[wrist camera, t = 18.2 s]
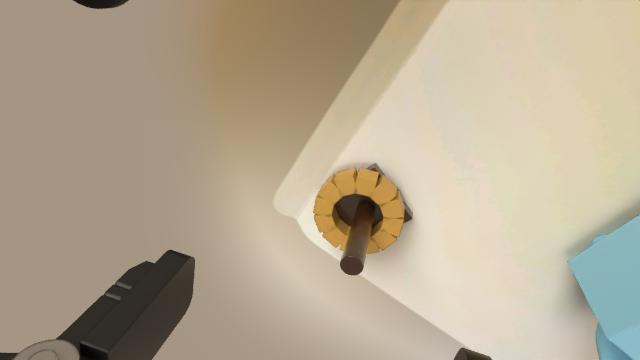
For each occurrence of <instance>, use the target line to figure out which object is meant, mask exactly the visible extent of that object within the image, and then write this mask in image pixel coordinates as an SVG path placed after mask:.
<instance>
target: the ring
mask: <svg viewBox="0 0 640 360" xmlns="http://www.w3.org/2000/svg"><path fill="white" fill-rule="evenodd" d="M378 175H379V172H375V171H371V170H367V169H363V168H360V169H359V172H358V173H357V170H356V168H352V169H348V170H344V171H340V172H338V173H337V175H335V174H333V175H332V176H331V177H330V178H329V179H328V180H327V181H326V182H325V183H324V184H323V185H322V187H321V189H320V191H319V193H318V195H317V197H316V200H315V205H314V211H313V213H314V214H315V215H314V220H315V222H316V225H317V227H318V230H319V232H320V233H321V232H324V233H323V235H322V236H323V237H324V238H325V239H326V240H327V241H329V242H330V243H331V244H332V245H333V246H334V247H337V246H338V245H339V244H341V245H340V250H343V251H344V248H345V245H346V242H347V238H348V235H349V232H350V228H351V226H348V225H347V224H346V223H345V222H344V221H342V220H341V219H340V218H339V216H338V213H337V210H336V208H335V206H336V202H337V201H338V200H340V199H341V198H342V197H343V196H346V195H351V194H355V193H357V194H360V195H364V196H368V197H370V198H371V199H372V200H374V201H375V202H376V203H377V204H378V205H379V206H380V208H381V211H382V214H383V219H382V220H381V221H380V222H379V223H378V224H376V225H375V226H374V227H372V230H371V234H370V239H369V244H368V248H367V253H366V254H370V253H376V252H379V250H380V248H381V249H382V250H384V249H386V248H387V247H388V246H389V245H391V244H392V243H393V242H394V241H396V240H397V236H399V235H400V232H401V228H402V225H403V222H404V213H405V212H404V209H405V206H404V203H403V200H402V197H401V194H400V191H397V187H396V186H395V185H394V184H393V183H392V182H391V181H390V180H389V179H388V178H386V177H385V176H384V175H382V176H381V177H380V178H379V179H378ZM377 179H378V180H377Z"/></svg>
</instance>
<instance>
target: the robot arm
mask: <svg viewBox="0 0 640 360" xmlns="http://www.w3.org/2000/svg"><path fill="white" fill-rule="evenodd" d="M194 269H195V259H194V258H193V257H191V256H188V255H185V254H182V253H179V252H176V251H173V250H168V251H167V252H166V253H165V254H164V255H163V256H162V257H161V258H160V259H159V260H158V261H157V262H156V263H155V264H154V263H151V262H148V261H145V262H143V263H141V264H139V265H137V266H135V267H133V268H131V269H129V270H128V271H127V272H126V273H125V274H124V275H123V276H122V277H121V278H120V279H118V280H117V282H116V283H115V285H112V286H111V287H110V288H109V289H108V290H107V291H106V292H105V294H104V295H102V296H101V297H100V298H99V299H98V300H97V301H96V302H95V303H94V304H93V305H91V307H89V308H88V309H87V310H86V311H85V312H84V313H83V314H82V315H81V316H80V317H79V318H78V319H77V320H76V321H75V322H74V323H73V324H72V325H71V326H70V327H69V328H68V329H67V330H65V332H63V333H62V334H61V335H60V336H59V337H58V338H56V339H55V340H46V341H42V342H38V343H36V344H33V345H31V346H29V347H27V348H25V349H24V350H22V351H21V352H20V353H0V360H152V359H153V357H154V356H155V355H156V353H157V352H158V350H159V349H160V348H161V346H162V345H163V343H164V342H165V341H166V339H167V338H168V337H169V335H170V334H171V333H172V331H173V330H174V328H175V327H176V326H177V324H178V323H179V322H180V320H181V319H182V317H183V316H184V315H185V313H186V311H187V309H188V307H189V305H190V302H191V299H192V294H193V281H194ZM454 360H492V359H491V358H490V357H489V356H486V355H483V354H480V353H477V352H474V351H471V350H468V349H465V348H461V349H460V350H459V351H458V353H457V355H456V356H455V358H454Z"/></svg>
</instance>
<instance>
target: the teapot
mask: <svg viewBox="0 0 640 360" xmlns="http://www.w3.org/2000/svg"><path fill="white" fill-rule="evenodd" d="M567 262H568V264H569V266H570V268H571V270H572V272H573V274H574V276H575V278H576V280H577V281H578V283H579V285H580V287H581V289H582V291H583V293H584V295H585V297H586V299H587V301H588V303H589V304H590V306H591V308H592V310H593V312H594V314H595V316H596V318H597V320H598V324H597V329H596V344H597V350H598V355H599V359H600V360H640V215H639V216H637V217H635V218H634V219H632V220H631V221H629V222H628V223H626V224H625V225H623V226H621V227H620V228H618V229H617V230H615V231H614V232H612V233H611V234H609V235H601V236H598V237H596V238H595V239H593V240H592V242H591V243H590V246H589V248H587V249H586V250H584V251H583V252H581V253H580V254H578V255H577V256H575V257H573V258H572V259H570V260H569V261H567Z"/></svg>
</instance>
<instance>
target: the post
mask: <svg viewBox="0 0 640 360" xmlns="http://www.w3.org/2000/svg"><path fill="white" fill-rule="evenodd" d="M367 170H371V171H375V172H379V175H378V179H379V178H380V177H381V176H382V175H384V174H383V172H382V171H381V170H380V168H379V167H378V166H377V164H376V163H375V164H373V165H371V166H370V167H368V168H367ZM384 176H385V175H384ZM385 177H386V176H385ZM378 179H377V180H378ZM403 203H404V206H405V209H404V212H405V213H404V222H403V223H405V222H407V221H409V220H411V219H412V215H413V213H412V212H411V210H410V209H409V208H408V206H407V205H406V204H405V202H404V201H403ZM335 208H336V210H337V213H338V216H339V218H340V219H341V220H342V221H344V222H345V223H346V224H347V225H348V226H351V228H350V232H349V235H348V238H347V242H346V245H345V248H344V252H343V255H342V258H341V262H340V267H341V269H342V270H343V271H344V272H345V273H346V274H348V275H358V274H360V273H361V272H362V270H363V267H364V262H365V258H366V253H367V248H368V244H369V239H370V234H371V230H372V227H374V226H375V225H376V224H378V223H379V222H380V221H381V220H382V219H383V214H382V211H381V208H380V206H379V205H378V204H377V203H376V202H375V201H374V200H372V199H371V198H370V197H368V196H364V195H360V194H357V193H355V194H351V195H346V196H343V197H342V198H341V199H340V200H338V201H337V202H336V206H335Z"/></svg>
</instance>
